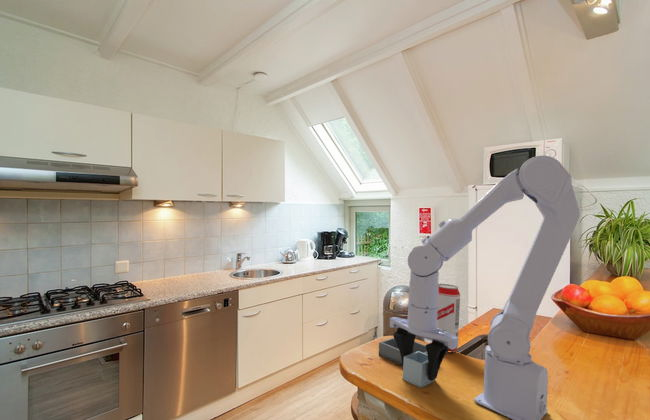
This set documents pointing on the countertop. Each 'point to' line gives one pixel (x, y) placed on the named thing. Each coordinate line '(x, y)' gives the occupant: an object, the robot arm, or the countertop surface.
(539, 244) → the robot arm
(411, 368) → the small crate
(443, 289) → the beer can
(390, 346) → the box
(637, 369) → the countertop surface
